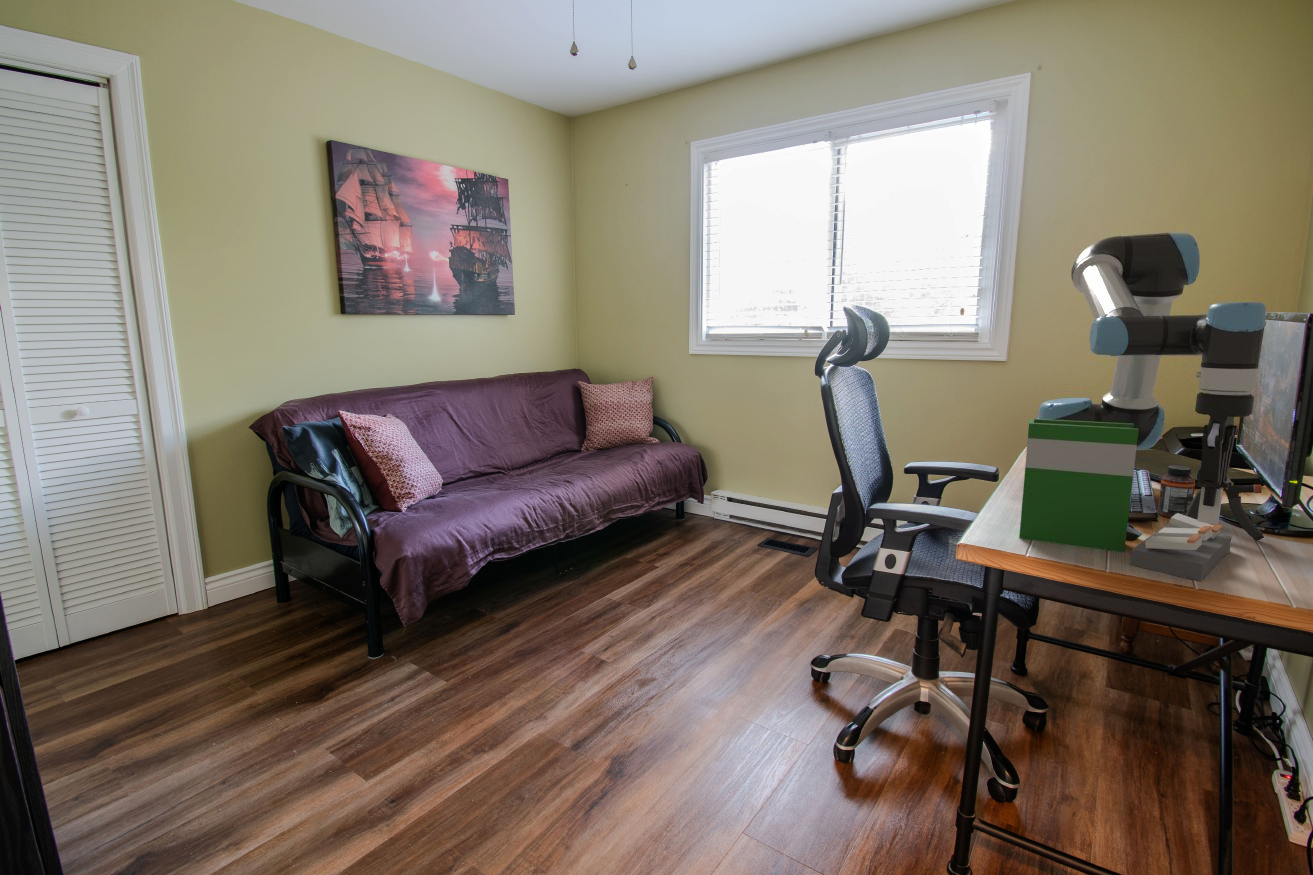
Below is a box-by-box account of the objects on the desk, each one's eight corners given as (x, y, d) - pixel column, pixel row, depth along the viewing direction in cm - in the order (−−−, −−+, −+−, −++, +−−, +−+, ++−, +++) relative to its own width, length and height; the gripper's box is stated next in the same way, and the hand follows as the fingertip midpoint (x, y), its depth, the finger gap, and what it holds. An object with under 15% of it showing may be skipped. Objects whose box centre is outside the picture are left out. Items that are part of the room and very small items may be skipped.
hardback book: (1120, 540, 129) (1133, 423, 125) (1124, 552, 123) (1138, 429, 119) (1020, 528, 138) (1029, 418, 134) (1019, 538, 132) (1029, 423, 127)
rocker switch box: (1171, 533, 133) (1173, 519, 132) (1235, 545, 125) (1237, 530, 125) (1130, 564, 116) (1132, 549, 116) (1200, 581, 109) (1203, 564, 108)
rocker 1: (1153, 542, 118) (1152, 533, 118) (1201, 544, 112) (1200, 534, 112) (1146, 547, 115) (1144, 538, 115) (1195, 550, 110) (1194, 540, 110)
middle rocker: (1164, 533, 123) (1163, 525, 123) (1212, 535, 117) (1210, 526, 117) (1158, 538, 120) (1157, 529, 120) (1206, 540, 114) (1205, 531, 114)
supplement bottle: (1159, 510, 149) (1165, 463, 147) (1192, 515, 145) (1198, 466, 143) (1155, 516, 145) (1161, 467, 143) (1188, 521, 140) (1195, 471, 138)
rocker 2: (1175, 518, 127) (1178, 510, 127) (1218, 533, 122) (1222, 525, 122) (1168, 522, 124) (1172, 515, 124) (1213, 538, 119) (1217, 530, 119)
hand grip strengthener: (1263, 543, 126) (1275, 469, 123) (1181, 531, 134) (1191, 462, 131) (1262, 540, 128) (1273, 467, 125) (1181, 529, 135) (1190, 460, 133)
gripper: (1206, 388, 118) (1190, 510, 122) (1188, 393, 110) (1171, 524, 114) (1261, 391, 113) (1242, 519, 117) (1246, 396, 105) (1226, 534, 109)
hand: (1207, 521), depth 116 cm, fingers closed
